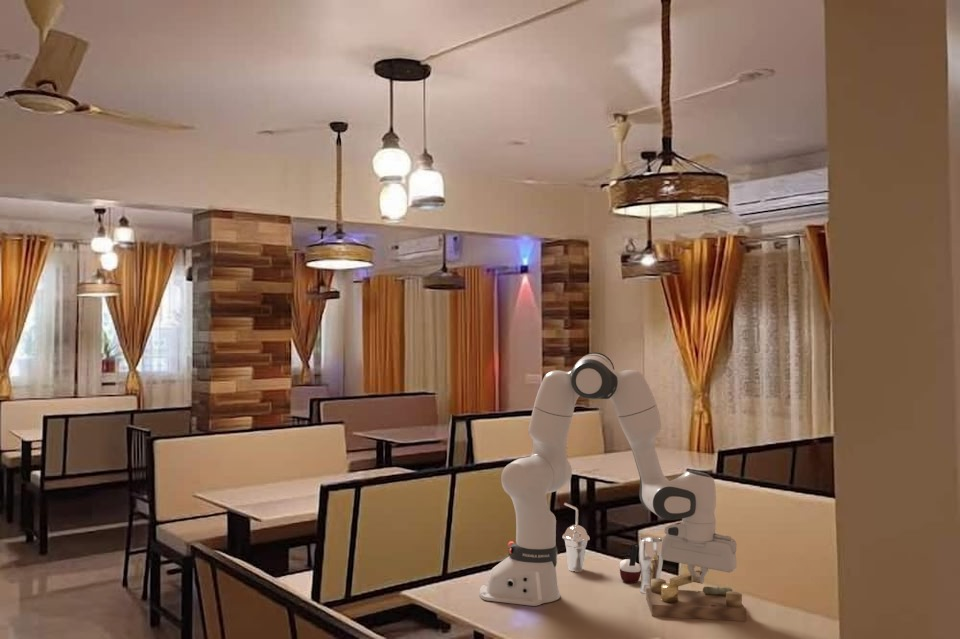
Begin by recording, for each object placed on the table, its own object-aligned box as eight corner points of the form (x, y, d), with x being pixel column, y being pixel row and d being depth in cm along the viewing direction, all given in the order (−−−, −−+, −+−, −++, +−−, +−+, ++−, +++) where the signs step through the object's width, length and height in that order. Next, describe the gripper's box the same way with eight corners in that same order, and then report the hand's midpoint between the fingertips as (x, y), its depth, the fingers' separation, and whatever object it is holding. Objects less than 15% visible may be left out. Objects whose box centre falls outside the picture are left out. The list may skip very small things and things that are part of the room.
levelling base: (652, 616, 215) (652, 593, 215) (646, 599, 229) (646, 577, 229) (745, 621, 213) (746, 597, 213) (734, 603, 227) (734, 581, 227)
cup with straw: (567, 574, 251) (568, 508, 251) (557, 566, 260) (558, 502, 260) (593, 572, 253) (594, 507, 254) (582, 564, 262) (583, 501, 262)
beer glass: (662, 596, 232) (664, 543, 232) (637, 594, 233) (638, 541, 233) (662, 589, 238) (663, 537, 239) (638, 587, 240) (639, 535, 240)
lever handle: (671, 603, 215) (671, 583, 216) (657, 598, 219) (658, 579, 219) (707, 592, 226) (707, 572, 226) (694, 588, 229) (694, 569, 229)
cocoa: (621, 577, 250) (621, 537, 251) (642, 579, 248) (642, 539, 249) (617, 585, 241) (616, 543, 242) (638, 586, 239) (638, 545, 240)
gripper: (740, 535, 219) (739, 587, 219) (668, 523, 231) (667, 572, 231) (732, 539, 214) (731, 592, 214) (659, 527, 226) (658, 577, 226)
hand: (697, 582), depth 222 cm, fingers closed
